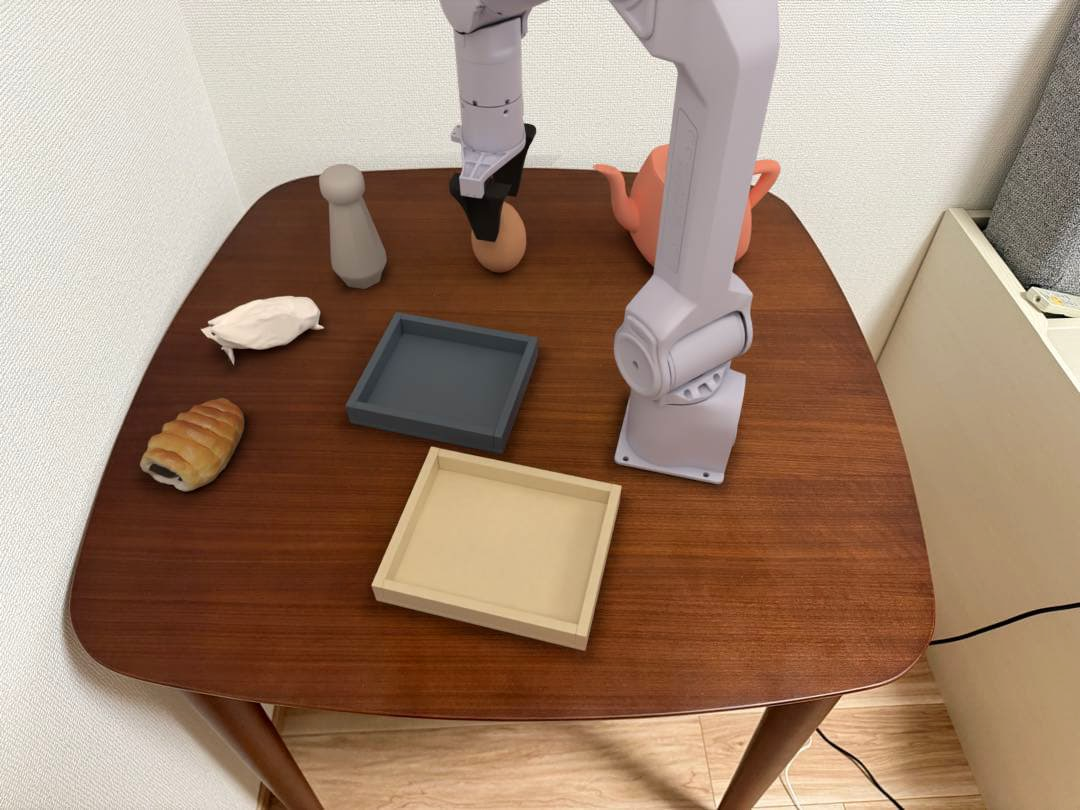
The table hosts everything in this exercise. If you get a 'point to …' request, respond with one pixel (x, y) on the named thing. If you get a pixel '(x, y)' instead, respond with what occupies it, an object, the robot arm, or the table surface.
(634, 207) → the teapot
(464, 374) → the slate tray
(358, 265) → the salt shaker
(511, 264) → the egg
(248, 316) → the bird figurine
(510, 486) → the ivory tray
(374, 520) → the table surface
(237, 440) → the pastry
